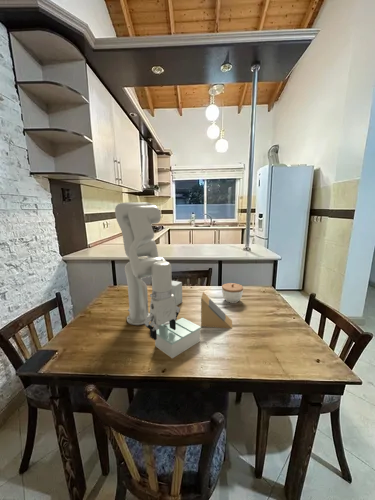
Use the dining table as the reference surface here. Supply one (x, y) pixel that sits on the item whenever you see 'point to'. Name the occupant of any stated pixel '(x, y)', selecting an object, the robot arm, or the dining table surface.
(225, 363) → the dining table surface
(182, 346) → the box
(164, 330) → the lid
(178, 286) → the supplement box
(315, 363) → the dining table surface
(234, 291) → the lidded bowl
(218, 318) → the sandwich container
